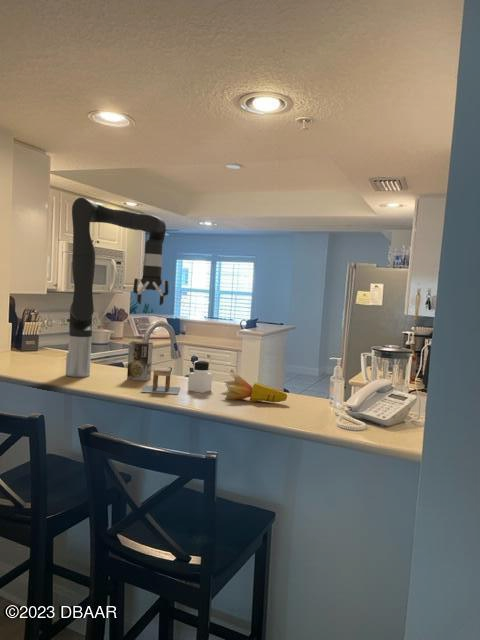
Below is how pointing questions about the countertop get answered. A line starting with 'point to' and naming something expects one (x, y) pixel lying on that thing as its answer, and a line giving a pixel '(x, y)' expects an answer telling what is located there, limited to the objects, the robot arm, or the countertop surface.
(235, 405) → the countertop surface
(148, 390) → the mat
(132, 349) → the coffee box
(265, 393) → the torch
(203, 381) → the medicine bottle
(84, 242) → the robot arm
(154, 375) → the stool
